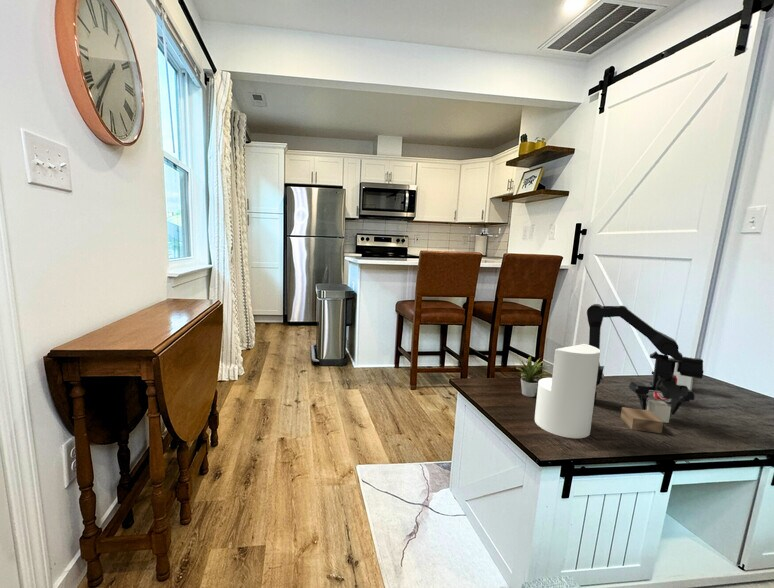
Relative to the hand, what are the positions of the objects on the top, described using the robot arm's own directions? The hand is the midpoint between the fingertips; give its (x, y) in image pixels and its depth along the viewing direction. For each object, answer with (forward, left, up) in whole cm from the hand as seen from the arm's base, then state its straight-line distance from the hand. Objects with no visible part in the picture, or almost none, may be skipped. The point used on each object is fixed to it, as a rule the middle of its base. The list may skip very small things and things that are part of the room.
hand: (657, 412), depth 130 cm
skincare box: (+27, +39, -2) cm, 47 cm away
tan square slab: (-9, -8, -2) cm, 12 cm away
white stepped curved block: (-37, -17, -2) cm, 41 cm away
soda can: (+12, +21, -2) cm, 24 cm away
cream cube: (0, 0, -2) cm, 2 cm away
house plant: (-44, +7, -2) cm, 45 cm away
